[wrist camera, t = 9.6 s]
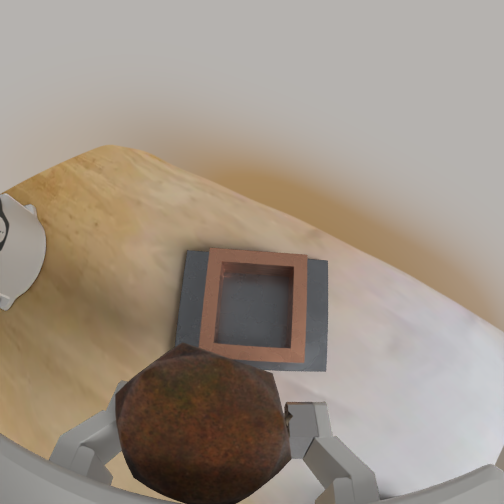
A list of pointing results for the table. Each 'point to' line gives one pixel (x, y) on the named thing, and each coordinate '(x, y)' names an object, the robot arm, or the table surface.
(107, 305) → the table surface
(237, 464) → the bolt
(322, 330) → the socket
